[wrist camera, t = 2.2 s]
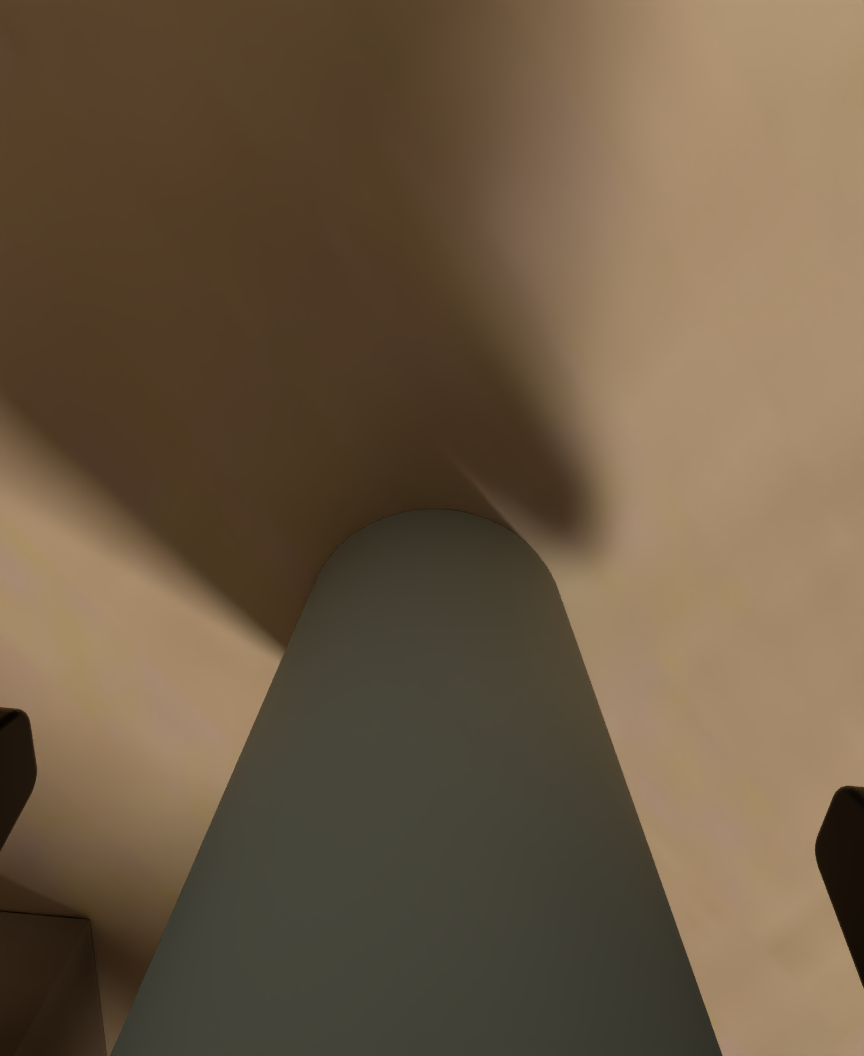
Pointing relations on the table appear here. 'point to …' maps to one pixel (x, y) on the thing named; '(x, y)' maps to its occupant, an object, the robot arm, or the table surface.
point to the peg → (425, 835)
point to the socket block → (48, 988)
